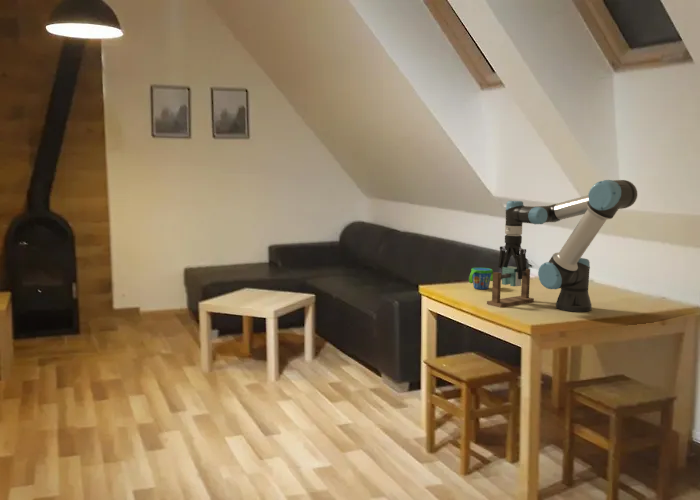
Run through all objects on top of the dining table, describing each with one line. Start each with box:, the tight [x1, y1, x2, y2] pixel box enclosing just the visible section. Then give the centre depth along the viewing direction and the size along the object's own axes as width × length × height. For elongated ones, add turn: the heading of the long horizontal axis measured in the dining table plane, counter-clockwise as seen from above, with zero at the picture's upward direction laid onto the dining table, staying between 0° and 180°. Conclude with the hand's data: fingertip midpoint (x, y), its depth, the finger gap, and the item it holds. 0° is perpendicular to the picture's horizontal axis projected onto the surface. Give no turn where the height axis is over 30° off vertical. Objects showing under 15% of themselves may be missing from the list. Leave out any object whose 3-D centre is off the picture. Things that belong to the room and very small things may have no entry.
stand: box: [486, 268, 535, 308], centre depth 333 cm, size 23×8×15 cm, turn 127°
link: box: [501, 265, 517, 287], centre depth 332 cm, size 5×7×8 cm
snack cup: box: [468, 267, 494, 290], centre depth 369 cm, size 16×10×10 cm
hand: (511, 284), depth 333 cm, fingers closed on link, 7 cm apart
